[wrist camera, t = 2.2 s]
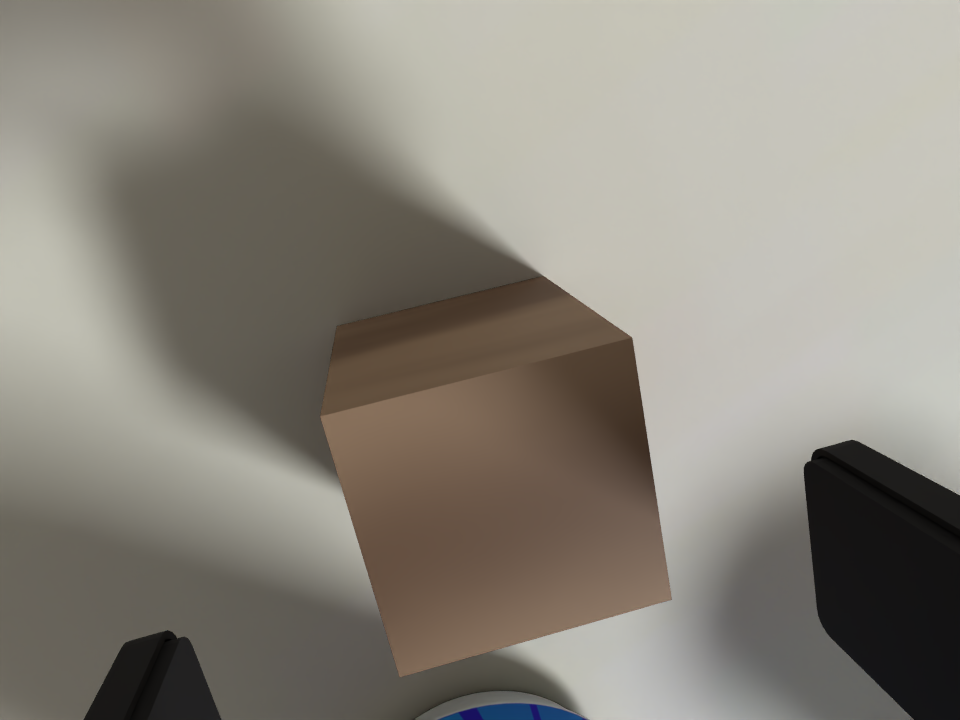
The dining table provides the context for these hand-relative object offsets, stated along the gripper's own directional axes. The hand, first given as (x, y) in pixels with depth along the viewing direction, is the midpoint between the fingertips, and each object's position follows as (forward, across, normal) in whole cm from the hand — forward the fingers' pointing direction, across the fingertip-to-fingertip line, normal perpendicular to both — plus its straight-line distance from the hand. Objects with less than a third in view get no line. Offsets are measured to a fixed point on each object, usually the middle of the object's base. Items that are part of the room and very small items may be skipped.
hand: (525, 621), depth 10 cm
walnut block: (+8, 0, -1) cm, 8 cm away
